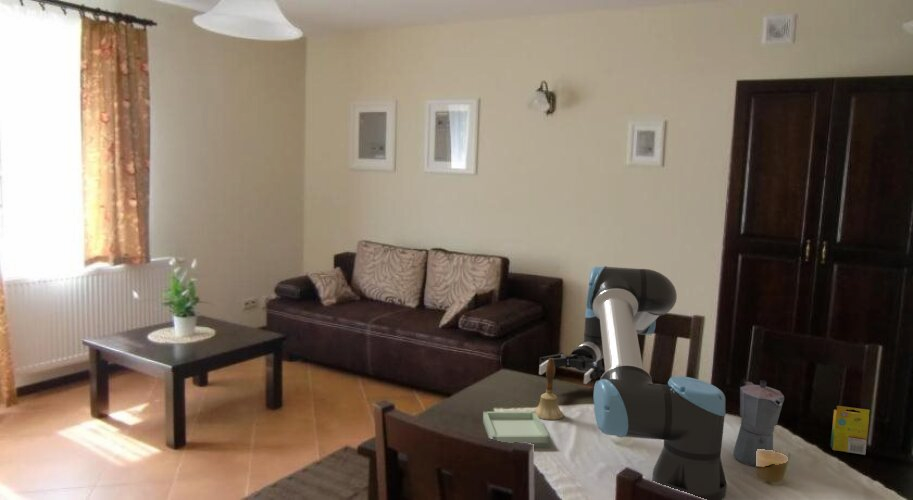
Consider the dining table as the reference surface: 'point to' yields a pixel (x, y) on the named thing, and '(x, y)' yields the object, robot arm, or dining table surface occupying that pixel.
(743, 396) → the moka pot
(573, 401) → the dining table surface
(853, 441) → the crayon box
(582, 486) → the dining table surface
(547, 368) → the hand bell
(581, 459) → the dining table surface
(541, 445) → the tray
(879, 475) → the dining table surface
